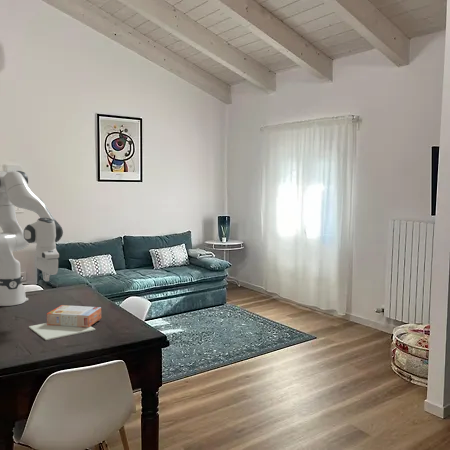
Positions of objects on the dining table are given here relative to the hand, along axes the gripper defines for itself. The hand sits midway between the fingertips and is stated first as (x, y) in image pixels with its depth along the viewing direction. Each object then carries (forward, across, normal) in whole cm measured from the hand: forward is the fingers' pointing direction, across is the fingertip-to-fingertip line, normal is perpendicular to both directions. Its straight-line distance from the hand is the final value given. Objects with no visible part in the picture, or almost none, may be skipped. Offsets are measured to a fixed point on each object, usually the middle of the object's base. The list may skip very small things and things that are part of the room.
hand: (46, 280), depth 224 cm
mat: (+18, +19, 0) cm, 27 cm away
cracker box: (+15, +6, +1) cm, 17 cm away
